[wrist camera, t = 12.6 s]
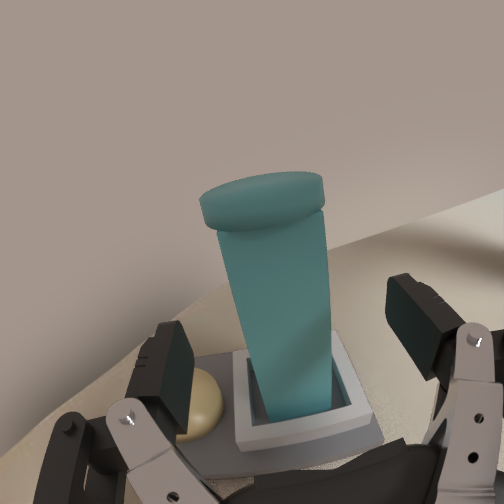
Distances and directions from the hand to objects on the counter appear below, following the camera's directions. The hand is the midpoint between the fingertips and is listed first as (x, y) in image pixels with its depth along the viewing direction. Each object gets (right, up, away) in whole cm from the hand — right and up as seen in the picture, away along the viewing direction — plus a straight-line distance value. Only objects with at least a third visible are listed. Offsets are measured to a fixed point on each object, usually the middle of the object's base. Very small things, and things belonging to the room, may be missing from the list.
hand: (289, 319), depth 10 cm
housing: (-2, -9, +8) cm, 12 cm away
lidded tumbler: (+2, -7, +7) cm, 10 cm away
